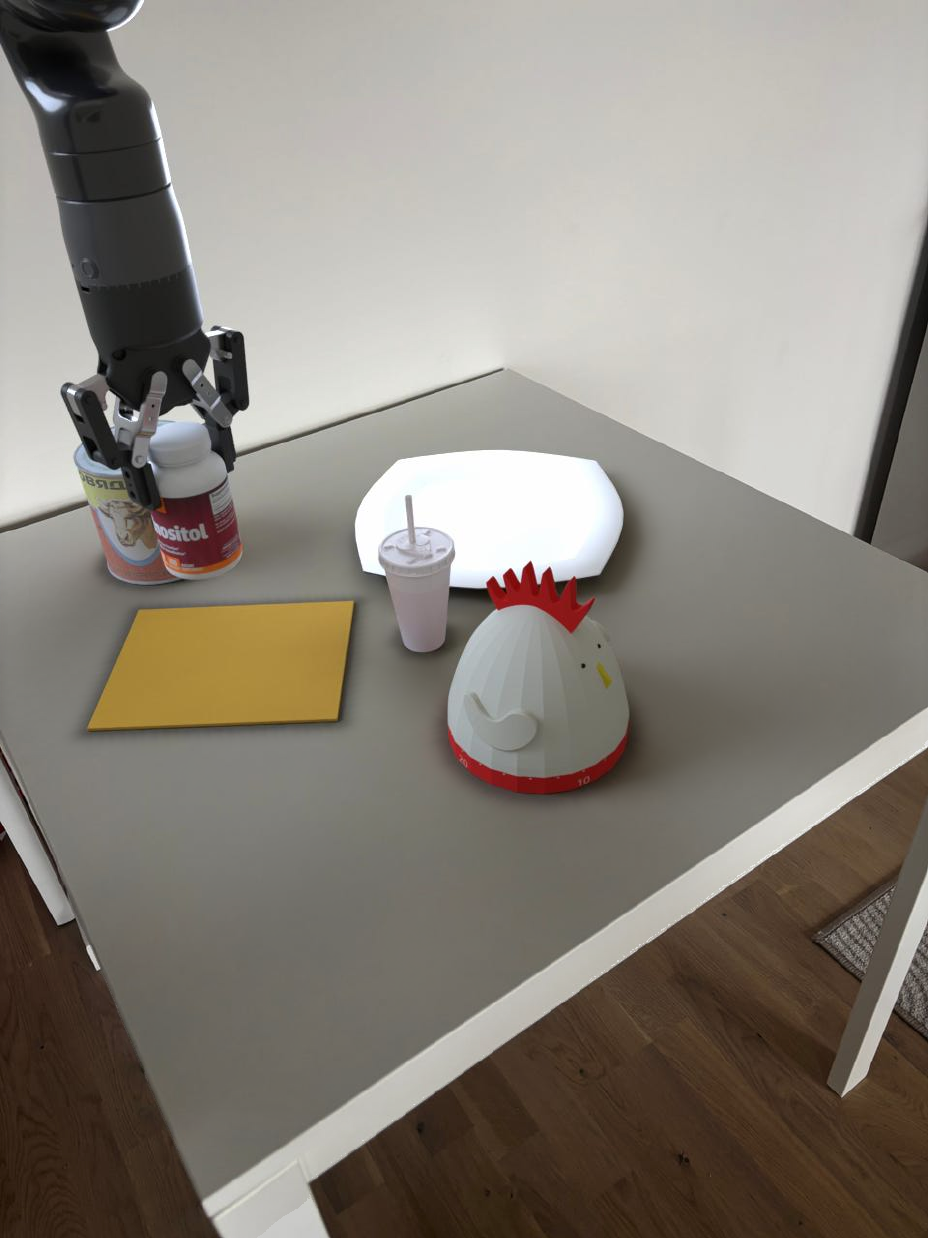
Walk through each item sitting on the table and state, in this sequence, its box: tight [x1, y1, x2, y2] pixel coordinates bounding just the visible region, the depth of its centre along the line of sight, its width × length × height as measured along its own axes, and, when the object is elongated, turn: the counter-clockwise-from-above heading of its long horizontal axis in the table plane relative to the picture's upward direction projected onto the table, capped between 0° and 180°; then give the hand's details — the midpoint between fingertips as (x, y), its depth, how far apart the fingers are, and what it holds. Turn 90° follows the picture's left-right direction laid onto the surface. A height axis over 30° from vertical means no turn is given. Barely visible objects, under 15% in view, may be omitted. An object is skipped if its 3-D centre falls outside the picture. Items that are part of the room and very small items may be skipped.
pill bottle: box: [147, 420, 243, 581], centre depth 74 cm, size 6×6×11 cm
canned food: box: [72, 419, 184, 586], centre depth 95 cm, size 11×11×12 cm
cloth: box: [86, 600, 355, 732], centre depth 83 cm, size 20×16×1 cm
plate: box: [354, 449, 625, 591], centre depth 99 cm, size 27×27×2 cm
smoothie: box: [378, 495, 456, 653], centre depth 81 cm, size 6×6×14 cm
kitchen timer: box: [447, 561, 630, 795], centre depth 71 cm, size 14×14×15 cm
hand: (186, 487), depth 73 cm, fingers closed on pill bottle, 6 cm apart
